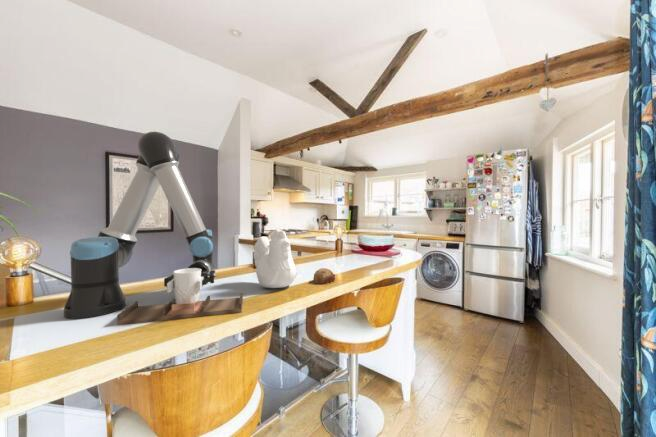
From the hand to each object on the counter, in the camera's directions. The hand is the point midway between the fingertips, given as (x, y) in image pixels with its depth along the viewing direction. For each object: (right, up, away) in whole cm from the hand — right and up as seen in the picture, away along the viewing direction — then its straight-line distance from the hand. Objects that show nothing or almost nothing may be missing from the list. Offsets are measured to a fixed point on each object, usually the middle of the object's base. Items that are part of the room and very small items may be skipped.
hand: (183, 286), depth 80 cm
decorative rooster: (+20, -9, +37) cm, 43 cm away
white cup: (-1, -6, +5) cm, 8 cm away
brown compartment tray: (-1, -9, +5) cm, 10 cm away
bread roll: (+42, -9, +43) cm, 60 cm away
